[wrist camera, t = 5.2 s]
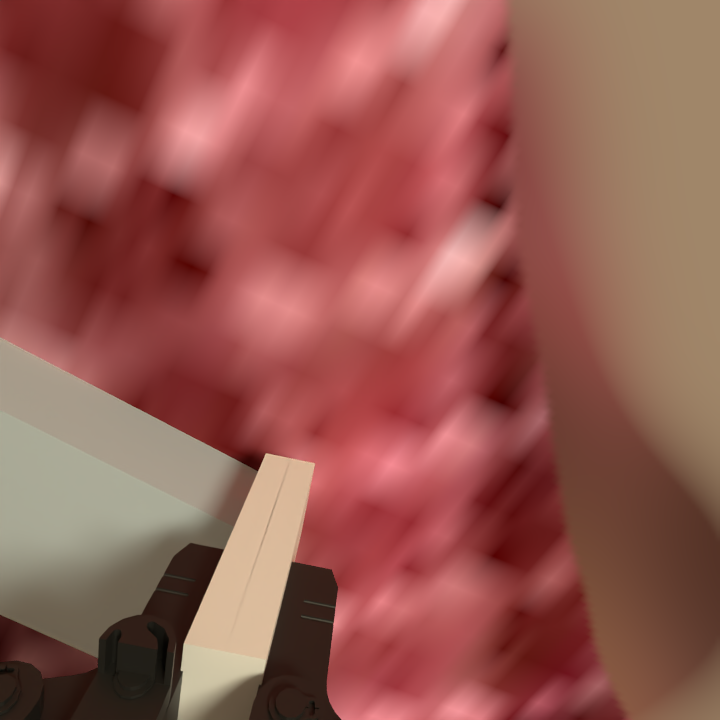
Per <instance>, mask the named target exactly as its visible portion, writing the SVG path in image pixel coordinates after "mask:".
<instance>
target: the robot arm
mask: <svg viewBox="0 0 720 720" xmlns="http://www.w3.org/2000/svg"><path fill="white" fill-rule="evenodd" d="M314 467H315V463H311V462H306V461H301V460H296V459H292V458H287V457H282V456H277V455H272V454H267V453H266V455H265V457H264V459H263V461H262V464H261V466H260V468H259V471H258V473H257V475H256V478H255V480H254V482H253V485H252V487H251V489H250V492H249V494H248V496H247V498H246V501H245V503H244V505H243V508H242V510H241V512H240V515H239V517H238V519H237V522H236V524H235V526H234V529H233V531H232V533H231V535H230V538H229V540H228V542H227V545H226V547H225V549H219V548H214V547H209V546H204V545H199V544H194V543H189V544H188V545H187V546H186V547H184V548H183V549H182V550H181V551H179V552H178V553H177V554H176V555H174V556H173V558H172V560H171V562H170V564H169V565H168V567H167V569H166V571H165V573H164V576H162V578H161V580H160V582H159V583H158V585H157V587H156V590H155V591H154V592H153V594H152V596H151V598H150V599H149V601H148V603H147V605H146V607H145V608H144V610H143V612H142V614H141V615H135V616H131V617H127V618H124V619H122V620H120V621H118V622H116V623H115V624H113V625H111V626H110V627H109V628H108V629H107V630H106V631H105V632H104V633H103V634H102V635H101V637H100V638H99V649H98V668H96V669H94V670H92V671H89V672H87V673H82V674H78V675H72V676H64V677H55V678H47V679H42V677H41V673H40V671H39V670H37V669H36V668H35V667H34V666H33V665H32V664H29V663H25V662H21V661H9V662H0V720H341V719H340V718H339V716H338V715H337V714H336V713H335V712H334V710H333V708H332V706H331V704H330V702H329V699H328V695H327V674H328V665H329V657H330V649H331V640H332V632H333V623H334V616H335V607H336V599H337V591H338V586H337V583H336V581H335V578H334V575H333V572H332V570H330V569H325V568H321V567H316V566H311V565H306V564H301V563H296V562H295V557H296V553H297V549H298V545H299V541H300V536H301V531H302V526H303V521H304V517H305V512H306V507H307V502H308V497H309V492H310V487H311V482H312V477H313V472H314Z"/></svg>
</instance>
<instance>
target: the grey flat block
mask: <svg viewBox="0 0 720 720" xmlns="http://www.w3.org/2000/svg"><path fill="white" fill-rule="evenodd" d="M257 473H258V471H256V470H255V469H253V468H251V467H249V466H247V465H245V464H243V463H241V462H239V461H237V460H235V459H233V458H231V457H229V456H228V455H226V454H224V453H222V452H220V451H218V450H216V449H214V448H212V447H210V446H208V445H206V444H204V443H203V442H201V441H199V440H197V439H195V438H193V437H191V436H189V435H187V434H185V433H183V432H181V431H179V430H177V429H176V428H174V427H172V426H170V425H168V424H166V423H164V422H162V421H160V420H158V419H156V418H154V417H152V416H151V415H149V414H147V413H145V412H143V411H141V410H139V409H137V408H135V407H133V406H131V405H129V404H127V403H125V402H124V401H122V400H120V399H118V398H116V397H114V396H112V395H110V394H108V393H106V392H104V391H102V390H100V389H99V388H97V387H95V386H93V385H91V384H89V383H87V382H85V381H83V380H81V379H79V378H77V377H75V376H73V375H72V374H70V373H68V372H66V371H64V370H62V369H60V368H58V367H56V366H54V365H52V364H50V363H48V362H47V361H45V360H43V359H41V358H39V357H37V356H35V355H33V354H31V353H29V352H27V351H25V350H23V349H22V348H20V347H18V346H16V345H14V344H12V343H10V342H8V341H6V340H4V339H2V338H0V615H2V616H4V617H6V618H9V619H11V620H13V621H15V622H18V623H20V624H22V625H24V626H27V627H29V628H31V629H33V630H36V631H38V632H40V633H42V634H45V635H47V636H49V637H51V638H54V639H56V640H58V641H60V642H63V643H65V644H67V645H69V646H72V647H74V648H76V649H78V650H81V651H83V652H85V653H87V654H89V655H92V656H94V657H96V658H98V649H99V638H100V637H101V635H102V634H103V633H104V632H105V631H106V630H107V629H108V628H109V627H110V626H111V625H113V624H115V623H116V622H118V621H120V620H122V619H124V618H127V617H131V616H135V615H141V614H142V612H143V610H144V608H145V607H146V605H147V603H148V601H149V599H150V598H151V596H152V594H153V592H154V591H155V590H156V587H157V585H158V583H159V582H160V580H161V578H162V576H164V573H165V571H166V569H167V567H168V565H169V564H170V562H171V560H172V558H173V556H174V555H176V554H177V553H178V552H179V551H181V550H182V549H183V548H184V547H186V546H187V545H188V544H189V543H194V544H199V545H204V546H209V547H214V548H219V549H225V547H226V545H227V542H228V540H229V538H230V535H231V533H232V531H233V529H234V526H235V524H236V522H237V519H238V517H239V515H240V512H241V510H242V508H243V505H244V503H245V501H246V498H247V496H248V494H249V492H250V489H251V487H252V485H253V482H254V480H255V478H256V475H257Z"/></svg>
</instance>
